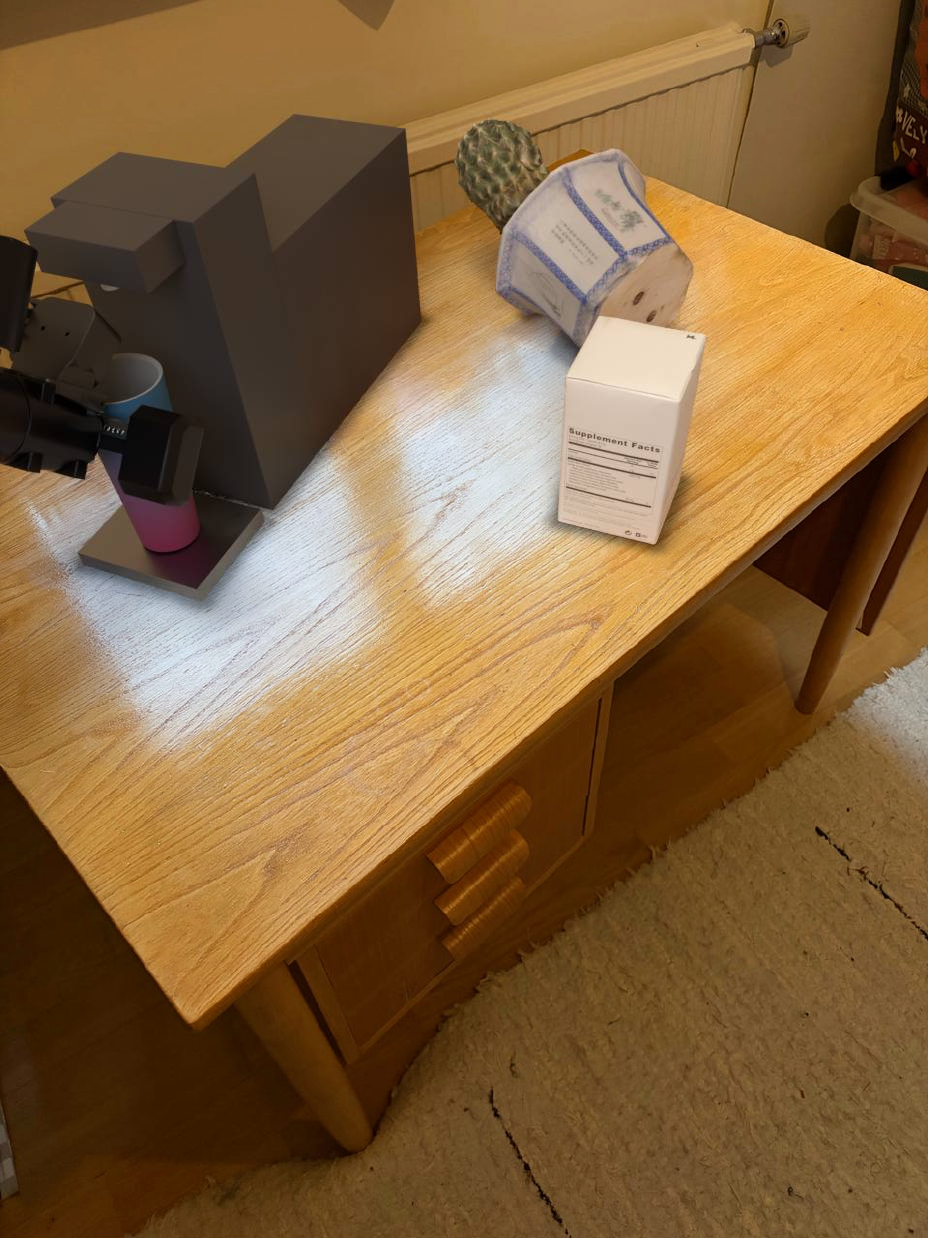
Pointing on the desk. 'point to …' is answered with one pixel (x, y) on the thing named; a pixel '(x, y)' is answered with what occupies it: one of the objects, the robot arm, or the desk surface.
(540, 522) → the desk surface
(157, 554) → the grey tray
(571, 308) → the potted plant
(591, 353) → the white product box
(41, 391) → the robot arm
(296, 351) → the coffee maker
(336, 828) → the desk surface
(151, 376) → the cup
